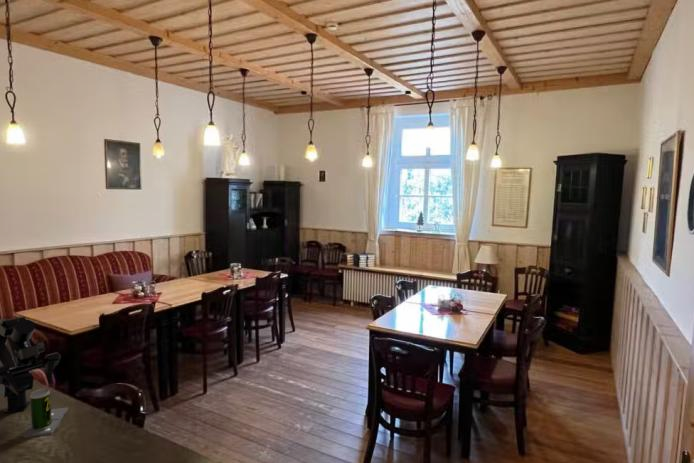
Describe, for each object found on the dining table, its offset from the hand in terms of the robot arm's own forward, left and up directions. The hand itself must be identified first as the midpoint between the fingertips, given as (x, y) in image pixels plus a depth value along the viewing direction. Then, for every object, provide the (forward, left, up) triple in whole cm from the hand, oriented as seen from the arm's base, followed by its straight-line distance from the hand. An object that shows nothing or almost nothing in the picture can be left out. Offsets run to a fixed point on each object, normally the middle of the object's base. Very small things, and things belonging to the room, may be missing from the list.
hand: (34, 388), depth 142 cm
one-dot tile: (-5, +2, -12) cm, 14 cm away
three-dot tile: (+4, +3, -12) cm, 13 cm away
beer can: (+4, +3, -12) cm, 13 cm away
